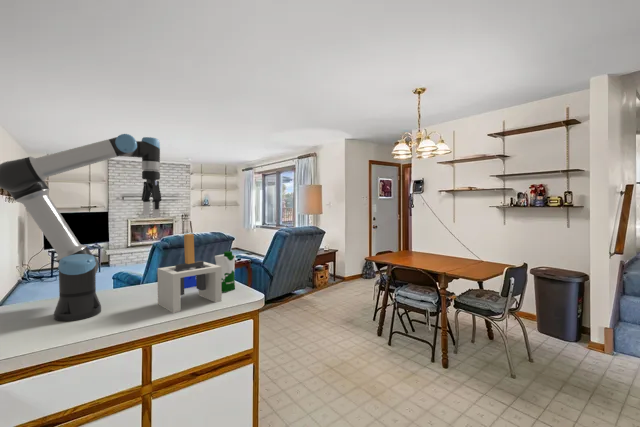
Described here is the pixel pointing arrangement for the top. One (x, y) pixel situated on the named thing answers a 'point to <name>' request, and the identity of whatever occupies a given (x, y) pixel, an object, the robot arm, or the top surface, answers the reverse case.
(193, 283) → the bracket
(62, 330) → the top surface
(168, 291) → the light grey open-top stand
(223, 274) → the milk carton
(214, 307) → the top surface
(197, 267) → the wooden handle u-frame
